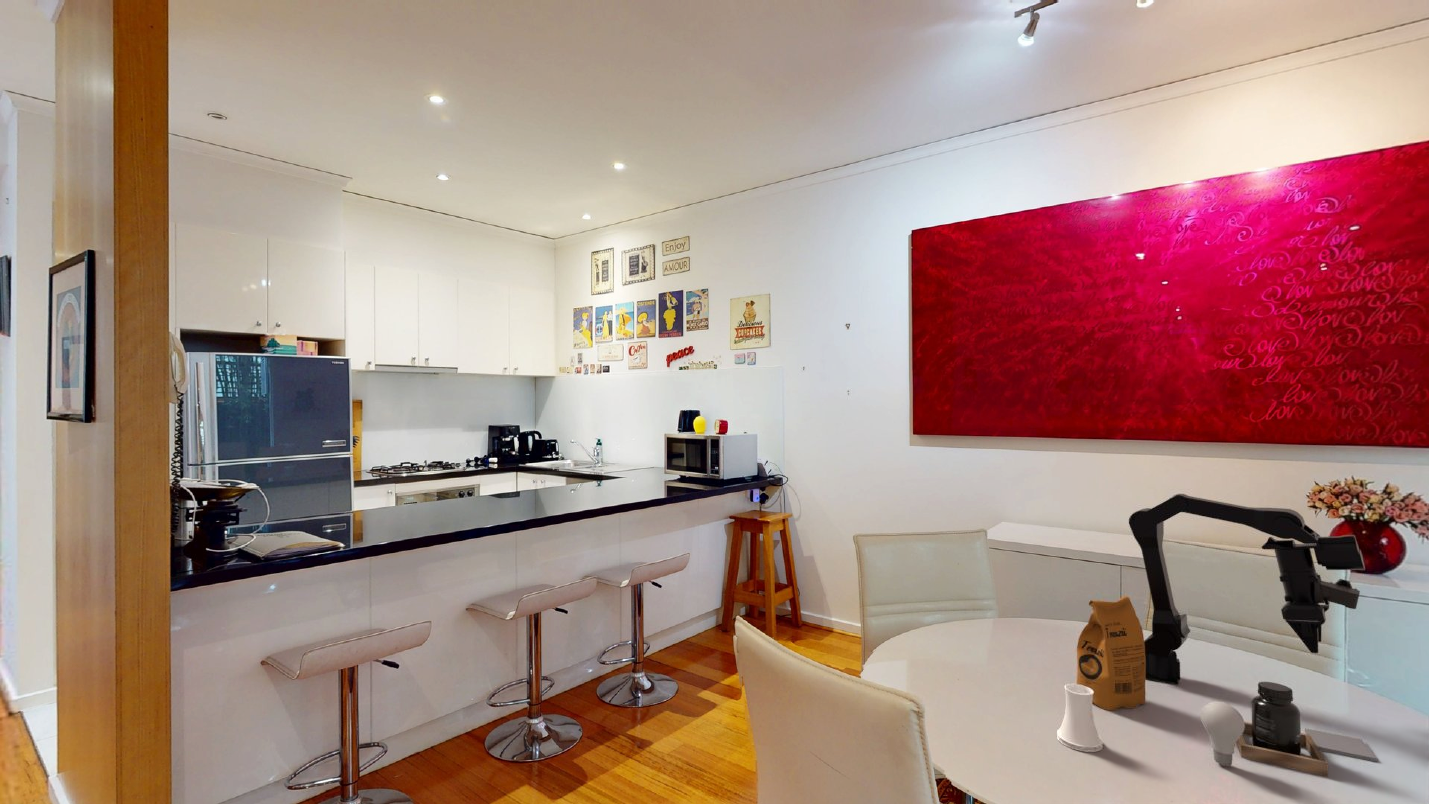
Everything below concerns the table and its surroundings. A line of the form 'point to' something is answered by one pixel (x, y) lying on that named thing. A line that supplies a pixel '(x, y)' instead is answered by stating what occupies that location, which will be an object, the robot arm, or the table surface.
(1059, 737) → the vase
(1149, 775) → the table surface
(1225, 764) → the lightbulb
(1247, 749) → the wooden square frame
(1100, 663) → the coffee package
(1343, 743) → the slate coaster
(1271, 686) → the supplement bottle
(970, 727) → the table surface
